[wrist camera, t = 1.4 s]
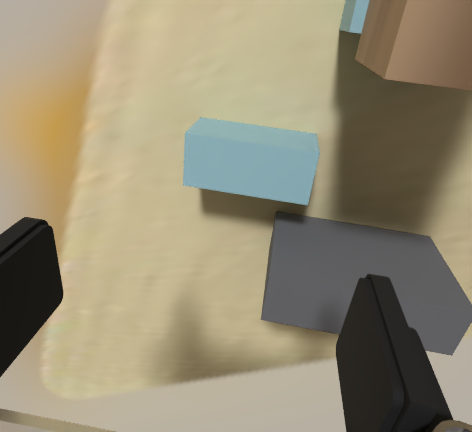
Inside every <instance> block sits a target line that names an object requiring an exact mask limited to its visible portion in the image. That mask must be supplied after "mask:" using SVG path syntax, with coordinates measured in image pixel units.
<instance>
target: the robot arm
mask: <svg viewBox="0 0 472 432" xmlns="http://www.w3.org/2000/svg"><path fill="white" fill-rule="evenodd" d="M62 299H63V287H62V281H61V275H60V269H59V263H58V257H57V251H56V245H55V240H54V233H53V229H52V227H51V226H49V225H48V223H47V221H45V220H41V219H35V218H29V217H24V218H22V219H21V220H19V221H18V222H17V223H15V224H14V225H13V226H11V227H10V228H9V229H7V230H6V231H5V232H3V233H2V234H0V377H1V376H2V374H3V373H4V372H5V371H6V370H7V368H8V367H9V366H10V365H11V363H12V362H13V361H14V360H15V359H16V357H17V356H18V355H19V354H20V352H21V351H22V350H23V349H24V347H25V346H26V345H27V344H28V343H29V341H30V340H31V339H32V338H33V337H34V335H35V334H36V333H37V332H38V330H39V329H40V328H41V327H42V326H43V324H44V323H45V322H46V321H47V319H48V318H49V317H50V316H51V315H52V313H53V312H54V311H55V310H56V308H57V307H58V306H59V305H60V303H61V301H62ZM336 358H337V365H338V373H339V380H340V387H341V395H342V401H343V409H344V417H345V424H346V431H347V432H472V425H469V424H467V423H464V422H461V421H455V420H453V418H452V415H451V413H450V410H449V408H448V405H447V403H446V400H445V398H444V396H443V393H442V391H441V388H440V386H439V384H438V381H437V379H436V376H435V374H434V371H433V369H432V366H431V364H430V361H429V359H428V357H427V354H426V352H425V349H424V347H423V344H422V342H421V339H420V337H419V335H418V333H417V331H416V330H415V329H414V328H411V327H409V326H408V324H407V321H406V318H405V316H404V313H403V311H402V308H401V306H400V303H399V300H398V298H397V295H396V293H395V290H394V287H393V285H392V282H391V280H390V278H389V277H386V276H380V275H374V274H367V276H366V277H365V278H359V280H358V283H357V286H356V288H355V291H354V294H353V297H352V300H351V303H350V306H349V309H348V312H347V314H346V317H345V320H344V323H343V326H342V329H341V332H340V335H339V338H338V340H337V344H336ZM0 432H114V431H109V430H105V429H100V428H95V427H90V426H85V425H79V424H75V423H70V422H65V421H60V420H55V419H50V418H45V417H40V416H35V415H30V414H25V413H20V412H15V411H9V410H4V409H0Z"/></svg>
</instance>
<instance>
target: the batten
mask: <svg viewBox="0 0 472 432" xmlns="http://www.w3.org/2000/svg"><path fill="white" fill-rule="evenodd" d="M319 154H320V152H319V146H318V140H317V134H313V133H306V132H300V131H293V130H286V129H279V128H272V127H265V126H258V125H251V124H244V123H237V122H230V121H223V120H216V119H209V118H202V117H201V118H200V119H199V120H198V121H197V122H196V123H195V124H194V125H193V126H192V127H191V128H190V129H189V130H188V131H187V132H186V133H185V149H184V177H183V185H184V186H190V187H196V188H202V189H209V190H215V191H221V192H227V193H234V194H240V195H246V196H252V197H259V198H265V199H271V200H277V201H284V202H290V203H296V204H302V205H308V202H309V198H310V193H311V189H312V185H313V180H314V176H315V172H316V167H317V163H318V158H319Z"/></svg>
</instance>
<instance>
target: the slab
mask: <svg viewBox="0 0 472 432" xmlns="http://www.w3.org/2000/svg"><path fill="white" fill-rule="evenodd" d="M355 60H356V61H358V62H359V63H361V64H362V65H364V66H365V67H367V68H368V69H370V70H371V71H373V72H374V73H376V74H377V75H379V76H380V77H382V78H383V79H388V80H395V81H403V82H410V83H418V84H426V85H433V86H441V87H449V88H456V89H464V90H471V91H472V0H369V4H368V8H367V12H366V16H365V20H364V24H363V28H362V32H361V36H360V40H359V44H358V49H357V53H356V57H355Z"/></svg>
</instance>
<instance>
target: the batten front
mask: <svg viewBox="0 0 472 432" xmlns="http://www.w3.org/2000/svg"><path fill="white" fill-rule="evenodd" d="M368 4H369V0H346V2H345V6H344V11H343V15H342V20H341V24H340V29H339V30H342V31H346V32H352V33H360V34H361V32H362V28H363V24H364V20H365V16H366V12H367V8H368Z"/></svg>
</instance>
